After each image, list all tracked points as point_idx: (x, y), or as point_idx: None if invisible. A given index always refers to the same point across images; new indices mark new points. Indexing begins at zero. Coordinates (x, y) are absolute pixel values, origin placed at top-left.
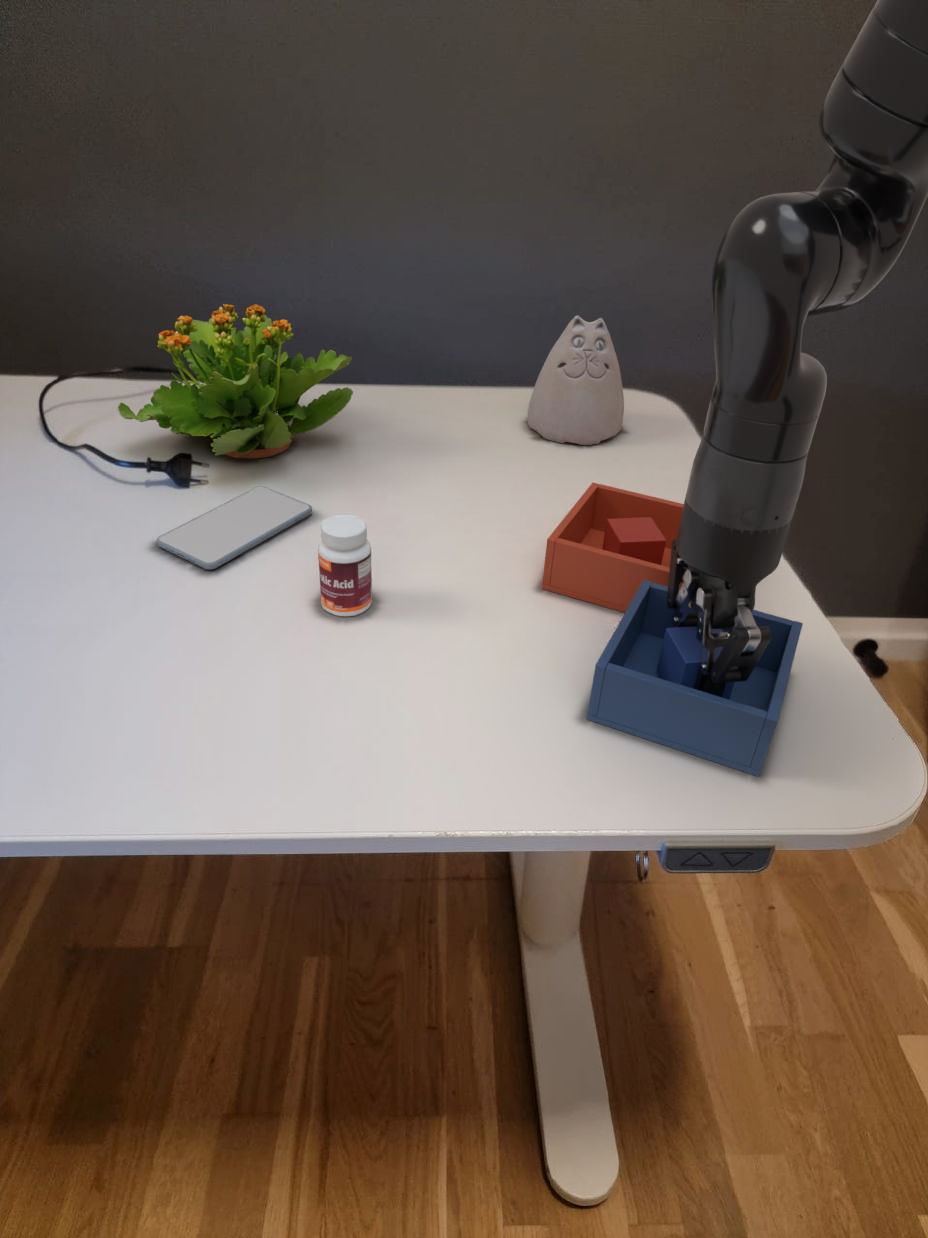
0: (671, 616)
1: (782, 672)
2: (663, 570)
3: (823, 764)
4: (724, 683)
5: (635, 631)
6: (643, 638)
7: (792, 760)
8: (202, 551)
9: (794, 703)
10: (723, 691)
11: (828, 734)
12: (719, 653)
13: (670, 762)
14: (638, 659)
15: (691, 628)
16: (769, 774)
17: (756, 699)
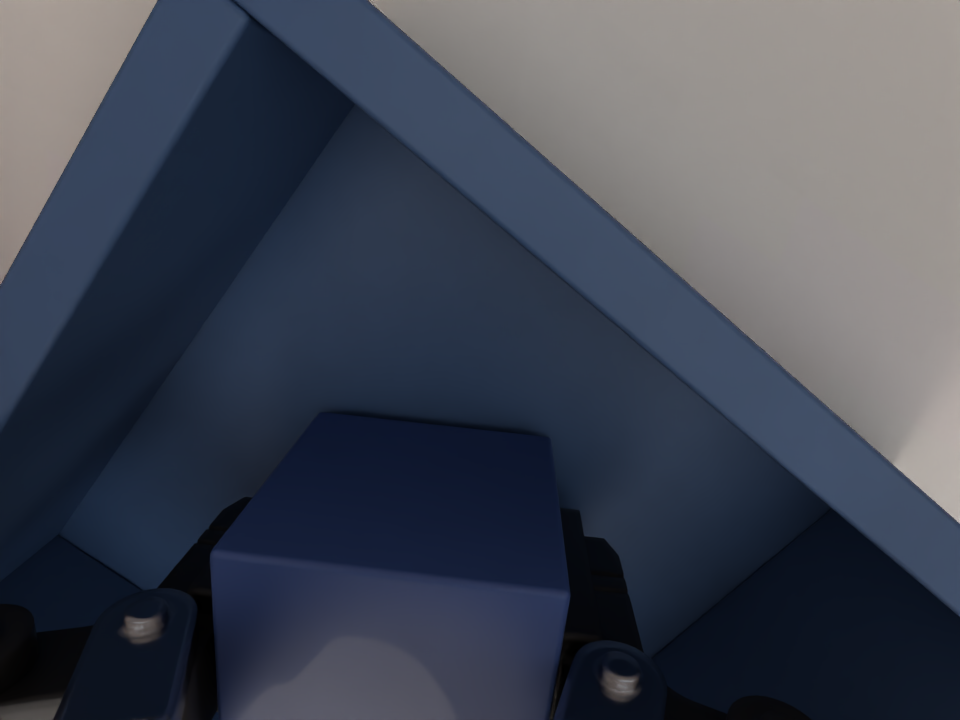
0: (14, 533)
1: (780, 433)
2: None
3: (943, 190)
4: (637, 644)
5: None
6: (99, 541)
7: (869, 306)
8: None
9: (566, 90)
10: (628, 601)
11: (798, 48)
12: (489, 679)
13: None
14: None
15: (239, 711)
16: (894, 429)
17: (536, 289)
